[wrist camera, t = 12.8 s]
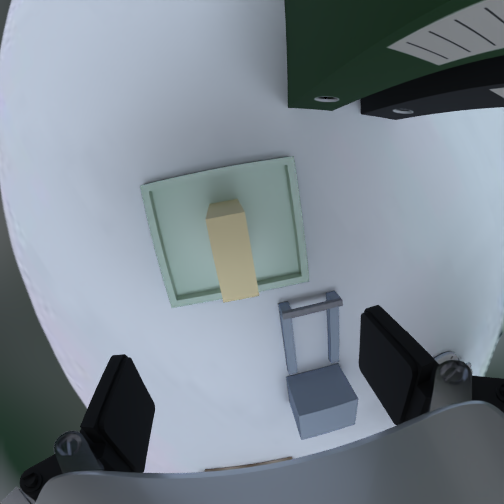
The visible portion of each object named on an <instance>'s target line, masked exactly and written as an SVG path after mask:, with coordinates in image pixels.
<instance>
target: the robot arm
mask: <svg viewBox="0 0 504 504" xmlns="http://www.w3.org/2000/svg"><path fill="white" fill-rule="evenodd" d="M359 368H360V370H361V372H362V374H363V375H364V377H365V378H366V380H367V382H368V383H369V385H370V386H371V388H372V389H373V391H374V392H375V394H376V396H377V397H378V399H379V400H380V402H381V403H382V405H383V407H384V408H385V410H386V411H387V413H388V415H389V416H390V418H391V419H392V421H393V423H394V424H395V425H397V426H395V427H392V428H390V429H387V430H385V431H382V432H379V433H377V434H374V435H371V436H369V437H366V438H363V439H361V440H358V441H355V442H352V443H349V444H346V445H343V446H340V447H336V448H333V449H330V450H326V451H323V452H319V453H315V454H312V455H308V456H304V457H299V458H295V459H291V460H286V461H281V462H276V463H271V464H266V465H260V466H253V467H247V468H239V469H231V470H222V471H211V472H196V473H143V472H144V469H145V463H146V456H147V451H148V445H149V439H150V434H151V428H152V423H153V418H154V413H155V405H154V402H153V400H152V398H151V396H150V394H149V393H148V391H147V389H146V387H145V385H144V383H143V381H142V379H141V377H140V375H139V373H138V371H137V369H136V367H135V365H134V363H133V361H132V359H131V358H130V357H127V356H126V355H125V354H123V355H113V356H112V357H111V358H110V360H109V362H108V364H107V367H106V369H105V371H104V373H103V375H102V377H101V379H100V382H99V384H98V386H97V388H96V390H95V393H94V395H93V397H92V400H91V402H90V404H89V407H88V409H87V411H86V414H85V416H84V419H83V421H82V423H81V426H80V427H81V430H80V433H79V432H78V431H68V432H65V433H63V434H61V435H60V436H59V437H58V438H57V439H56V441H55V443H54V452H55V454H54V455H52V456H51V457H49V458H47V459H45V460H44V461H42V462H40V463H38V464H36V465H34V466H33V467H31V468H29V469H27V470H26V471H25V472H24V473H23V474H22V476H21V478H20V487H21V488H20V489H19V488H18V487H16V488H15V489H14V490H13V491H12V492H11V493H9V495H7V497H5V498H4V499H3V500H2V501H1V502H0V504H504V379H500V378H490V377H480V376H472V369H471V363H470V362H468V363H466V364H465V363H464V362H461V361H459V358H458V356H457V355H456V354H455V353H453V352H446V353H443V354H441V355H439V356H437V357H436V358H433V357H432V356H431V355H430V354H429V353H428V352H427V351H426V350H425V349H424V348H423V347H422V346H421V345H420V344H419V343H418V342H417V341H416V340H415V339H414V338H413V337H412V336H411V335H410V334H409V333H408V332H407V331H405V330H404V329H403V328H402V327H401V326H400V325H399V324H398V323H397V322H396V321H395V320H394V319H393V318H392V317H391V316H390V315H389V314H388V313H387V312H386V311H385V310H384V309H383V308H382V307H380V306H379V305H376V306H373V307H370V308H366V309H365V311H364V313H362V314H361V330H360V352H359Z"/></svg>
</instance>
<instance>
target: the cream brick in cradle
mask: <svg viewBox="0 0 504 504" xmlns="http://www.w3.org/2000/svg"><path fill="white" fill-rule="evenodd" d="M205 220H206V225H207V230H208V235H209V240H210V244H211V249H212V254H213V258H214V263H215V267H216V272H217V276H218V281H219V285H220V290H221V294H222V298H223V303H224V302H229V301H235V300H240V299H245V298H250V297H255V296H259V291H258V285H257V279H256V273H255V268H254V262H253V256H252V250H251V244H250V239H249V233H248V227H247V221H246V216H245V211H244V210H243V208H242V206H241V204H240V202H239V201H238V199H233V200H228V201H222V202H217V203H212V204H209V208H208V211H207V215H206V219H205Z"/></svg>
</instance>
